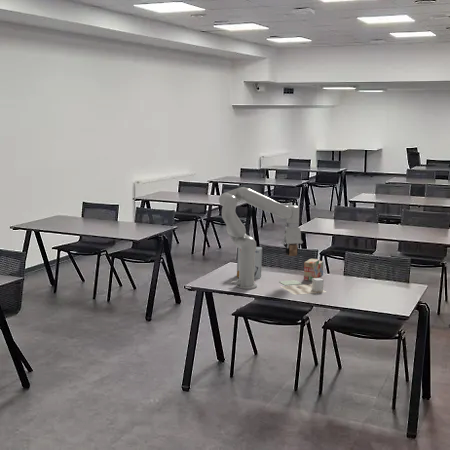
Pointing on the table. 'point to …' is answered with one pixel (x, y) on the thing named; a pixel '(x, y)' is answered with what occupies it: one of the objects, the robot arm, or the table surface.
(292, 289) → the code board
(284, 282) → the mat
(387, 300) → the table surface
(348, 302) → the table surface
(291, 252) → the walnut block
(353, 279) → the table surface
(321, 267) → the stack of blocks
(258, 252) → the hard drive box
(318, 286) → the pale grey block
